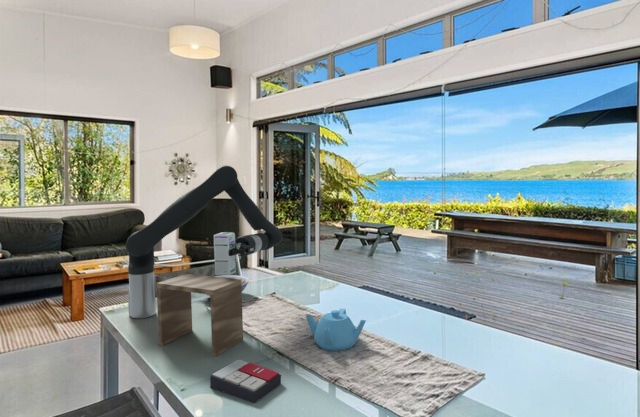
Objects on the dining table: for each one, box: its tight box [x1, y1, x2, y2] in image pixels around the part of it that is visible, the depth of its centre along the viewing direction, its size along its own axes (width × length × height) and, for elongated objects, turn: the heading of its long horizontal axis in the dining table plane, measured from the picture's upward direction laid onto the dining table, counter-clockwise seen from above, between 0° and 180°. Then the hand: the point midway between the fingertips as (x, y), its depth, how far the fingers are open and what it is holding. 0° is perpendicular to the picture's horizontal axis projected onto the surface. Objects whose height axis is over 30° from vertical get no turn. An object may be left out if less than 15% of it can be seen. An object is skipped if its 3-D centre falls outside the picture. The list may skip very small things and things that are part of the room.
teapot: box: [305, 308, 367, 352], centre depth 135 cm, size 15×15×11 cm
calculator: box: [209, 359, 282, 404], centre depth 109 cm, size 11×4×15 cm
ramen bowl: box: [205, 274, 250, 297], centre depth 189 cm, size 25×23×8 cm
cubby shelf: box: [155, 273, 244, 358], centre depth 137 cm, size 23×14×20 cm, turn 66°
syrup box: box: [213, 231, 237, 276], centre depth 148 cm, size 6×6×14 cm
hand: (221, 252), depth 146 cm, fingers closed on syrup box, 6 cm apart
